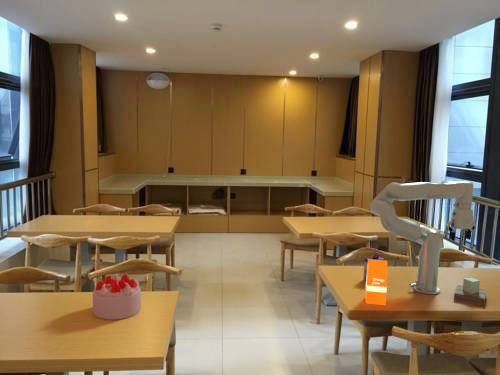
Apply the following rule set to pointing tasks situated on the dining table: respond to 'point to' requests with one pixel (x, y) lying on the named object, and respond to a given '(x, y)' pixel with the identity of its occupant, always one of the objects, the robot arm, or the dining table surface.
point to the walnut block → (470, 296)
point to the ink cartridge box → (367, 264)
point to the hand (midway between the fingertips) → (459, 239)
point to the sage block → (471, 285)
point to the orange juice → (376, 282)
